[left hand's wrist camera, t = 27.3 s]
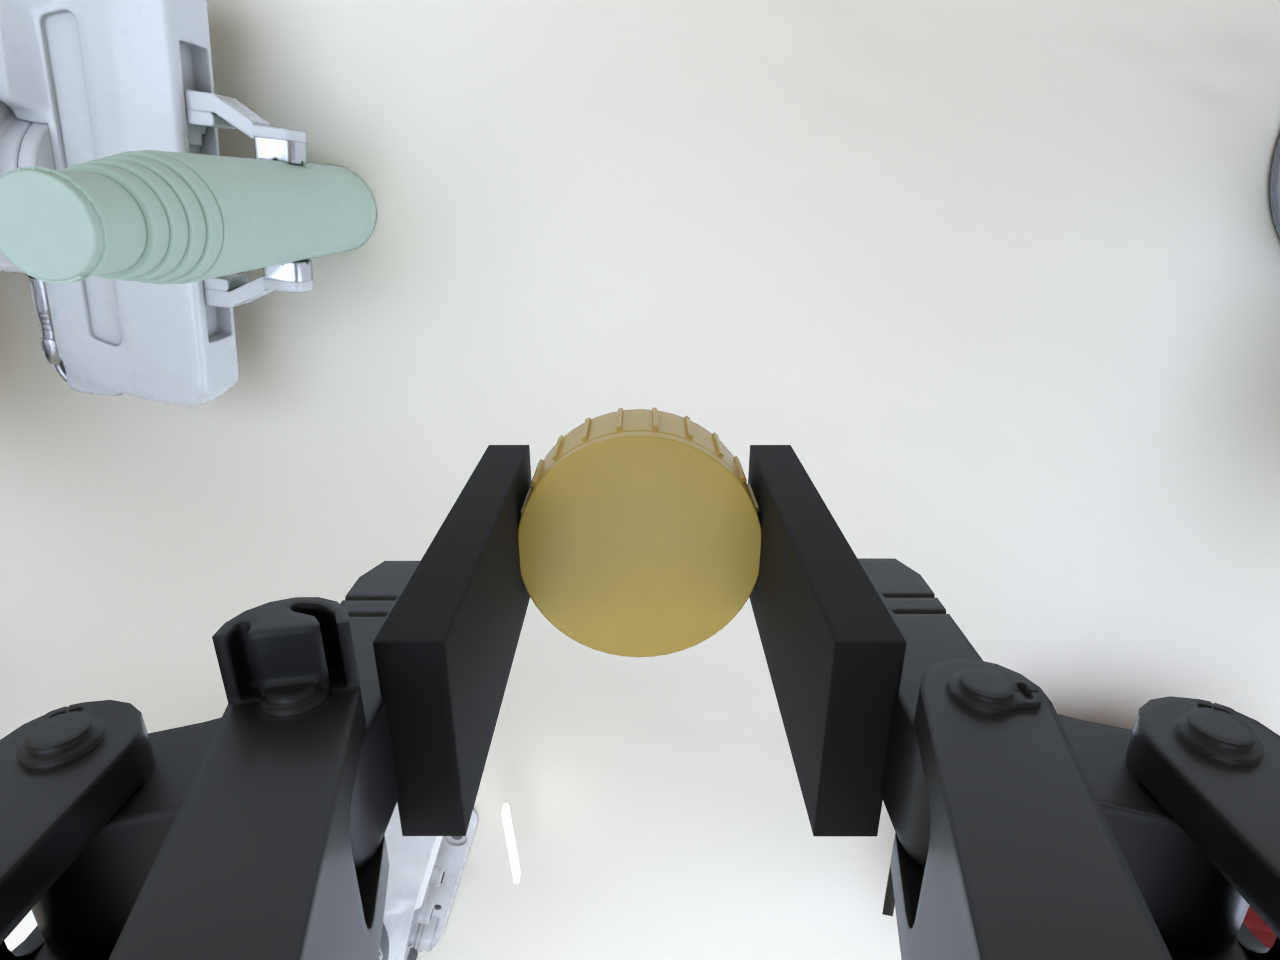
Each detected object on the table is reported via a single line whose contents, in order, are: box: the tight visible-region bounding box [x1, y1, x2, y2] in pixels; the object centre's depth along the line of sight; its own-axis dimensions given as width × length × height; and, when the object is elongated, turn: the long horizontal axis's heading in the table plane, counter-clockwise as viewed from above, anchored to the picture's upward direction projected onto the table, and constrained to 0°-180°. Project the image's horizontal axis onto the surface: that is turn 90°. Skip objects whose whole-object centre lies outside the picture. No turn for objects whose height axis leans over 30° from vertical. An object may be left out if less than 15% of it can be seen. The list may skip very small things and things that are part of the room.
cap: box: [518, 408, 761, 657], centre depth 13 cm, size 4×4×2 cm
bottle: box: [0, 150, 376, 285], centre depth 32 cm, size 5×4×22 cm
